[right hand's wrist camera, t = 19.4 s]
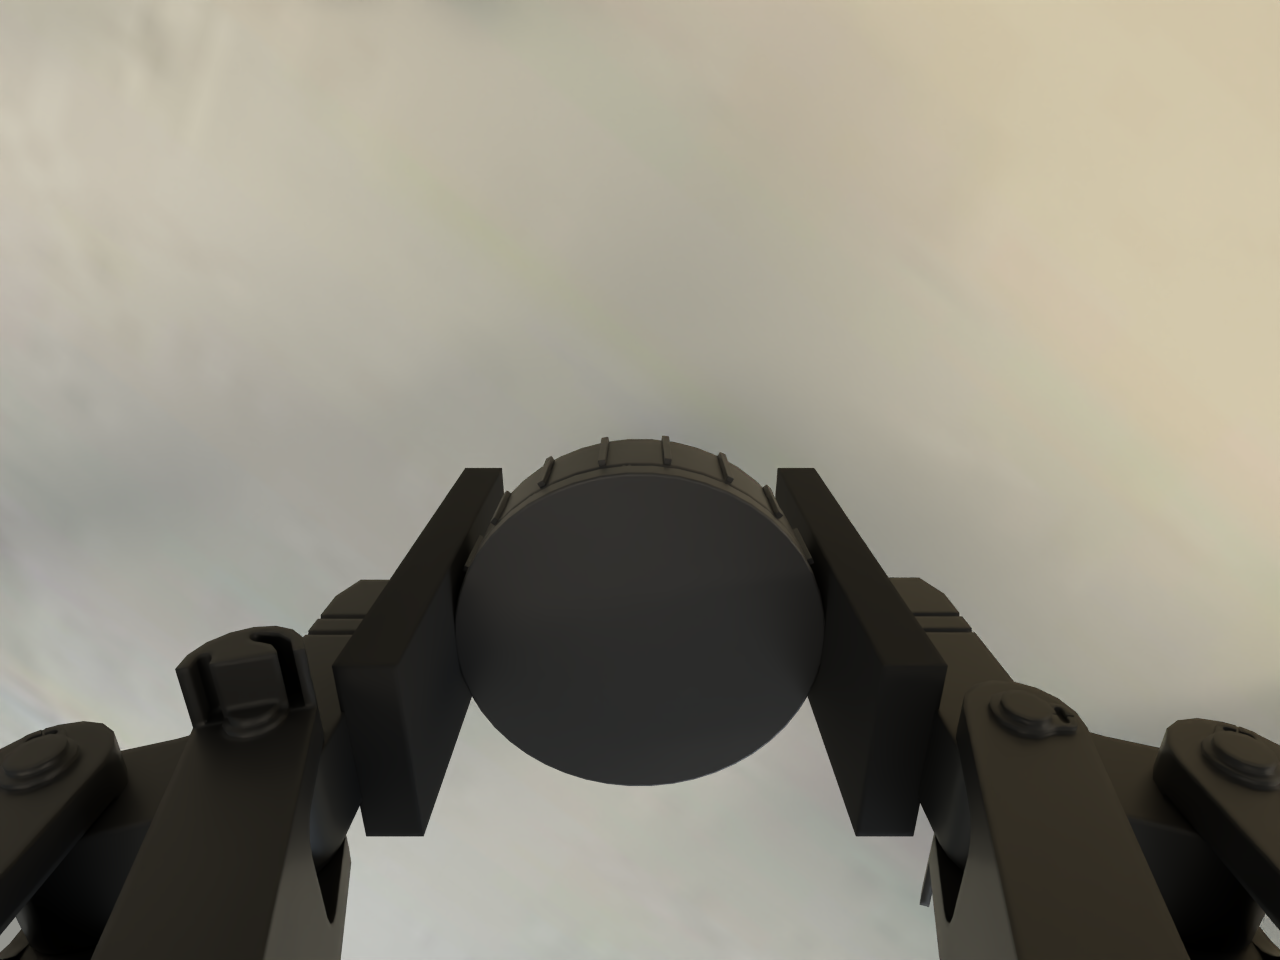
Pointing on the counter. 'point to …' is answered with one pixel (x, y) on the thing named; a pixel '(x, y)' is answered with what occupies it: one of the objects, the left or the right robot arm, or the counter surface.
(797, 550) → the lid
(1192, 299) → the counter surface
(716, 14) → the counter surface
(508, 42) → the counter surface
